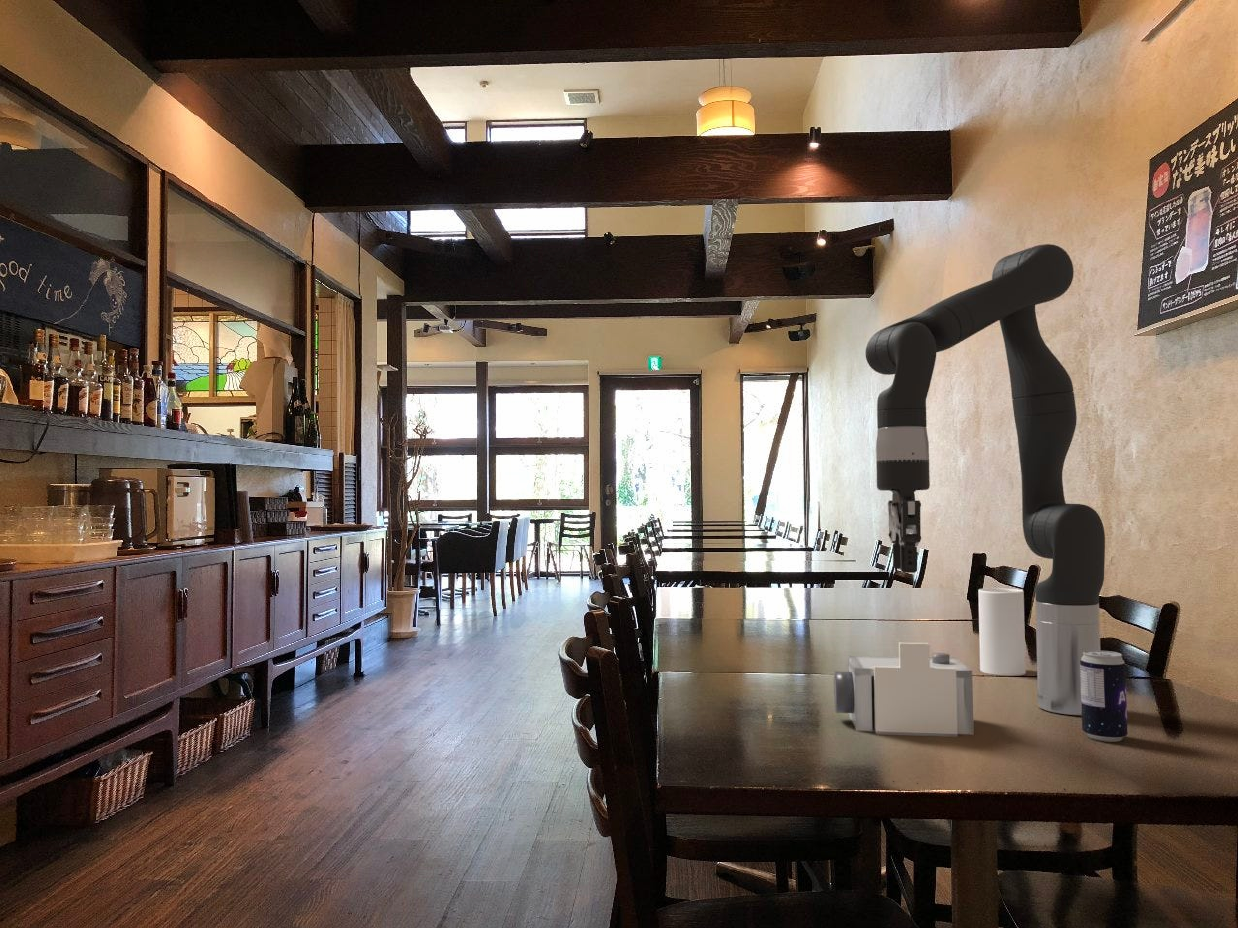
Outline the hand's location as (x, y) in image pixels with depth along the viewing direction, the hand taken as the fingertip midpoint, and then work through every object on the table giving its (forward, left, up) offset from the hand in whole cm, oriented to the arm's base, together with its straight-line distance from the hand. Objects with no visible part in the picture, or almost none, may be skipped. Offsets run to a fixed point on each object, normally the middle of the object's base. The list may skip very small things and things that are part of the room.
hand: (904, 570), depth 130 cm
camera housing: (+1, 0, -24) cm, 24 cm away
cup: (-26, -48, -24) cm, 60 cm away
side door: (0, +6, -23) cm, 23 cm away
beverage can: (-27, 0, -24) cm, 36 cm away
